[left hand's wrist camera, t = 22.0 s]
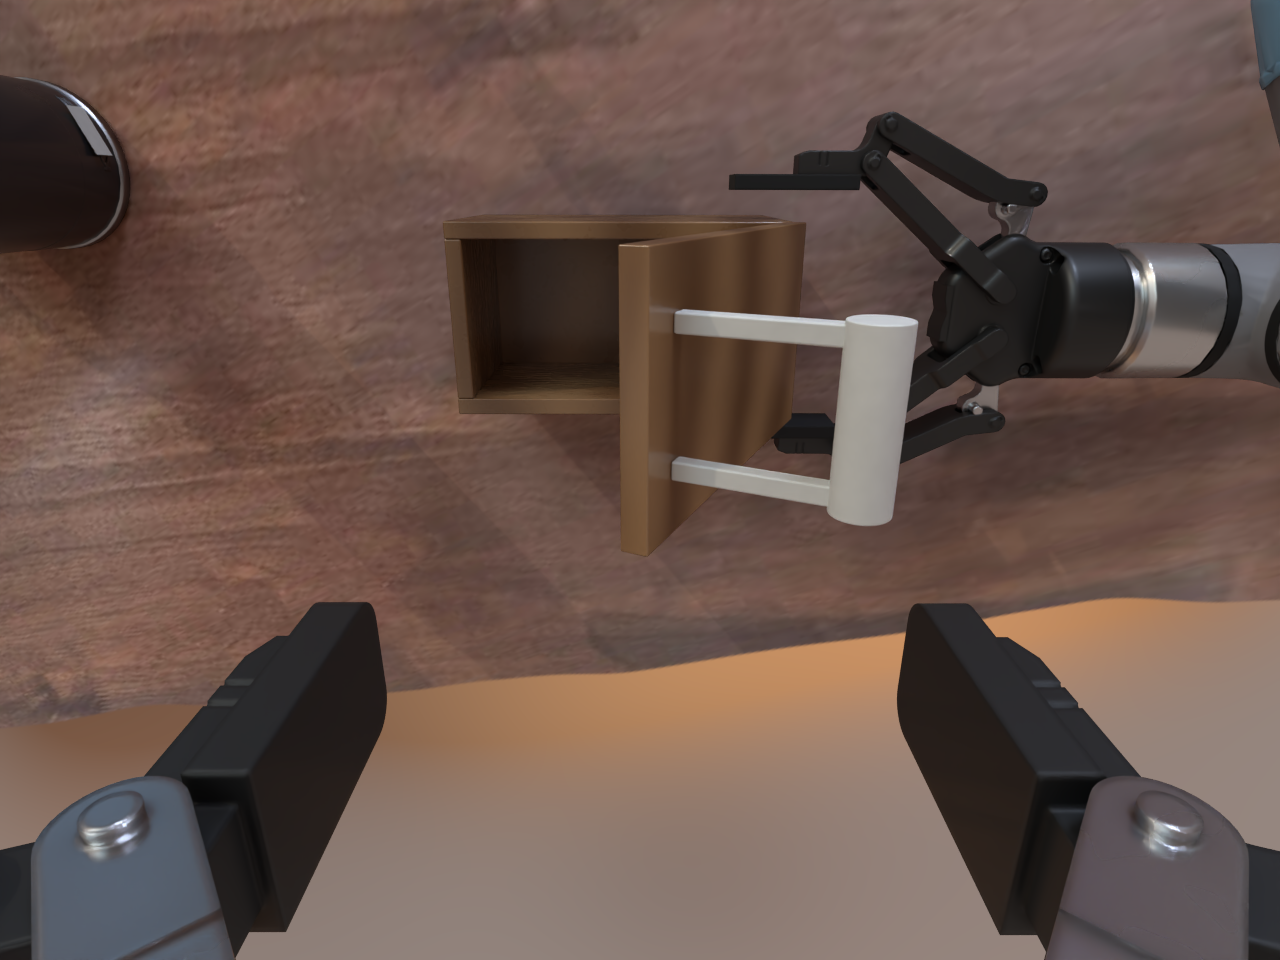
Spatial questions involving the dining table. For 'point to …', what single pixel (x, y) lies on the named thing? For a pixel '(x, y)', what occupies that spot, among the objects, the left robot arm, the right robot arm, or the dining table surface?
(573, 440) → the dining table surface
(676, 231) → the chest
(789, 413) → the lid
